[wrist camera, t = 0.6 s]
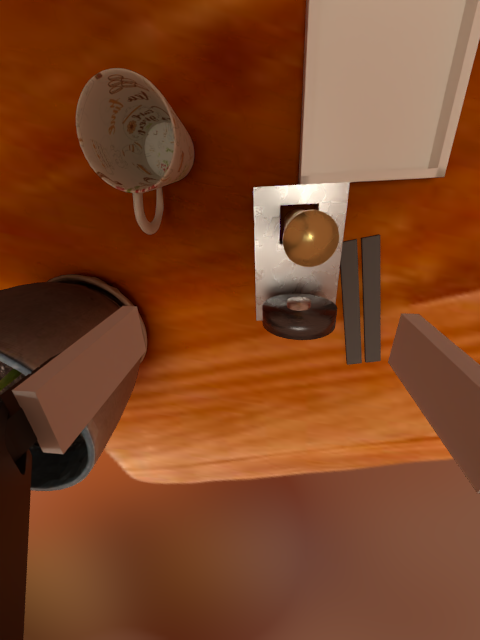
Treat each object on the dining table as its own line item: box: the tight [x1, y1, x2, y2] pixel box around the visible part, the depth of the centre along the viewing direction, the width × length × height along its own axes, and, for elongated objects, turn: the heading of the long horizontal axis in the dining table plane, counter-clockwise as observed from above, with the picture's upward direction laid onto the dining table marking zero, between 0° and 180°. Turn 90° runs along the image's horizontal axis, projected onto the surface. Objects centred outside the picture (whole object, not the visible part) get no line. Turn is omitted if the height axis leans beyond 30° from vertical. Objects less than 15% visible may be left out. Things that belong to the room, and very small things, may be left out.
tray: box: [298, 0, 480, 185], centre depth 25 cm, size 16×14×2 cm
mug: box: [76, 68, 194, 235], centre depth 27 cm, size 8×13×10 cm, turn 175°
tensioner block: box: [253, 182, 350, 340], centre depth 29 cm, size 16×10×11 cm, turn 3°
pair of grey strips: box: [340, 235, 380, 365], centre depth 35 cm, size 18×5×1 cm, turn 13°
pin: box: [283, 208, 339, 267], centre depth 26 cm, size 4×4×13 cm
